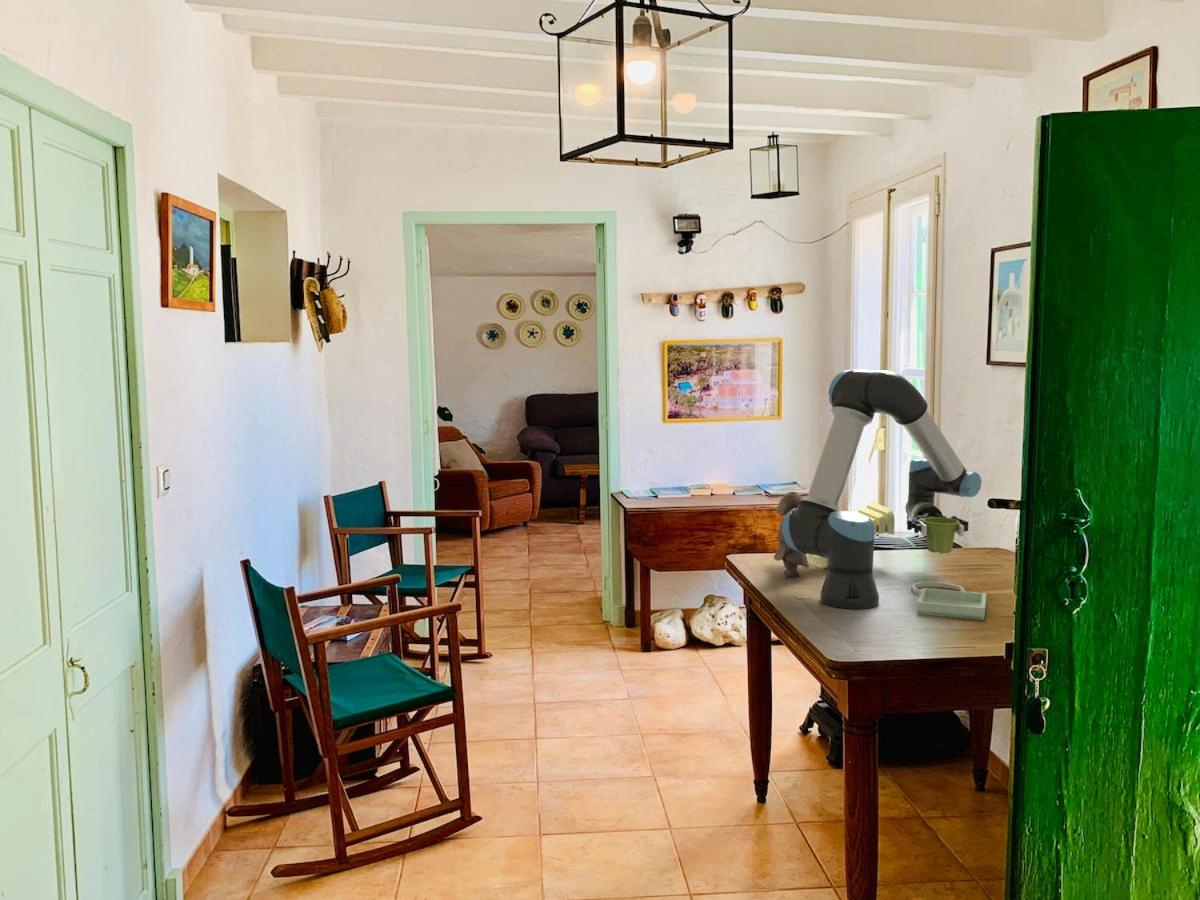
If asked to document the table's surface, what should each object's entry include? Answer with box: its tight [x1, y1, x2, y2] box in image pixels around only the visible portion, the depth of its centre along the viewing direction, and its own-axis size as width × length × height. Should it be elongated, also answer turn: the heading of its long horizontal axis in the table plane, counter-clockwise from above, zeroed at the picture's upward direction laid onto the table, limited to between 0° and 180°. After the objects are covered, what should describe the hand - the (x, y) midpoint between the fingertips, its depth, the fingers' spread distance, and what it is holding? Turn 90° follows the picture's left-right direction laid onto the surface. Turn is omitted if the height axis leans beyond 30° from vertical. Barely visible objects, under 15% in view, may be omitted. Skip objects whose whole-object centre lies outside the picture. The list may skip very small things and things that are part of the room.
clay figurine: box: [773, 491, 809, 579], centre depth 301 cm, size 13×10×25 cm
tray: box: [916, 587, 987, 621], centre depth 266 cm, size 16×16×3 cm
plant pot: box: [923, 517, 959, 554], centre depth 282 cm, size 9×9×9 cm
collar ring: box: [910, 581, 967, 596], centre depth 284 cm, size 14×14×1 cm
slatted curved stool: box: [807, 501, 895, 569], centre depth 318 cm, size 30×16×18 cm, turn 99°
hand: (943, 531), depth 278 cm, fingers closed on plant pot, 9 cm apart
